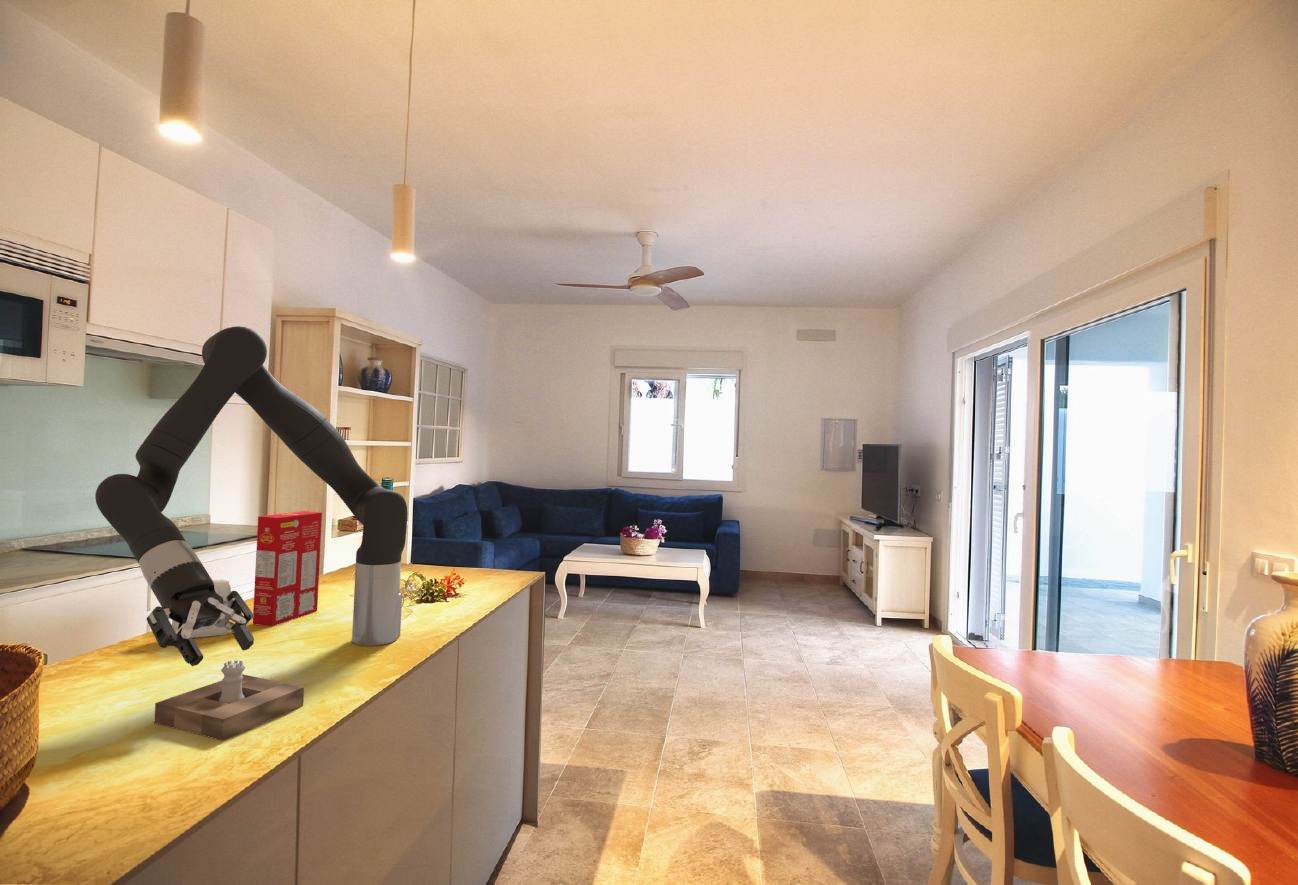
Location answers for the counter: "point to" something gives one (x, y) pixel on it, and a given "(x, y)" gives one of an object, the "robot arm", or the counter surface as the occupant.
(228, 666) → the rook chess piece
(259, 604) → the food packaging
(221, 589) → the photo printer
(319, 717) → the counter surface
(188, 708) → the socket board
